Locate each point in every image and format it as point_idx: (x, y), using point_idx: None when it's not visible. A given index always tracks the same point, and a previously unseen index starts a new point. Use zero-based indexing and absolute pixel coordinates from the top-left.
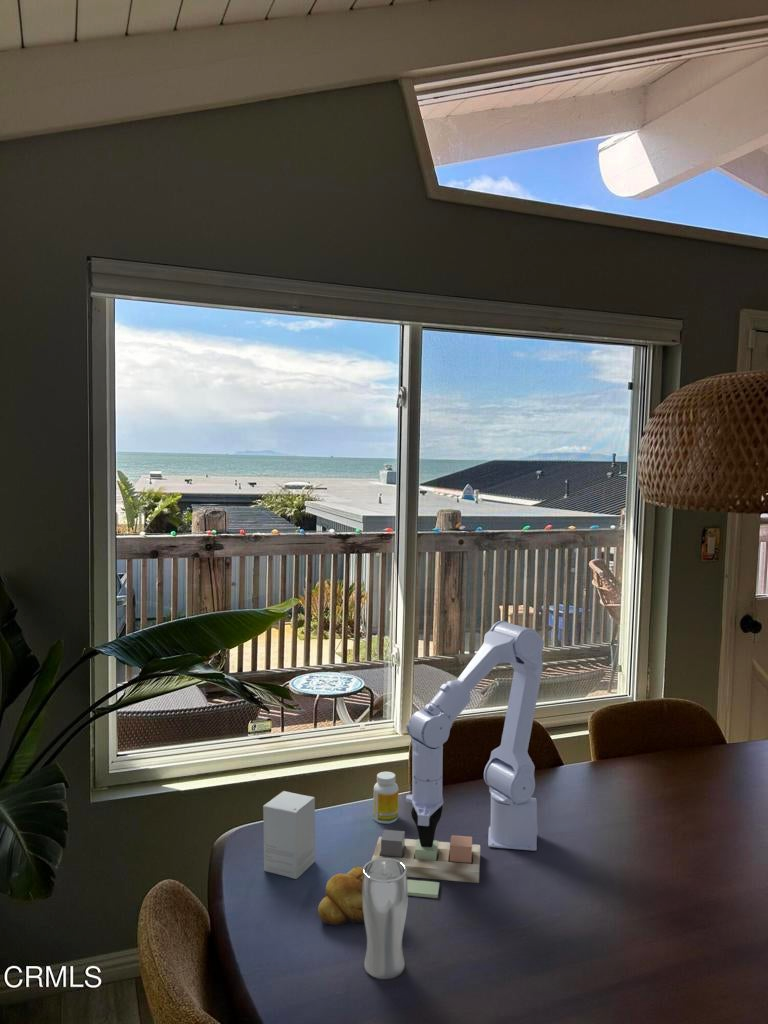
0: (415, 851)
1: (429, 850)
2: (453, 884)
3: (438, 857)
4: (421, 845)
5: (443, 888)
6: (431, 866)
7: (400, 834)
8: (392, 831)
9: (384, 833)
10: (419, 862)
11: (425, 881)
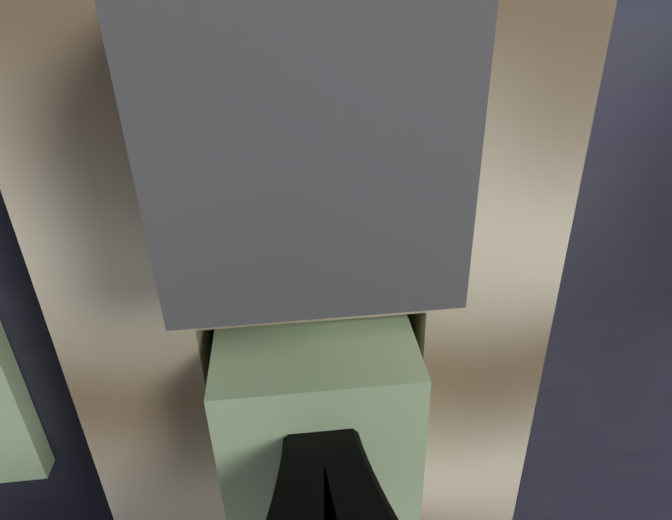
0: (206, 389)
1: (229, 501)
2: (109, 514)
3: None
4: (283, 446)
5: (36, 480)
6: (124, 467)
7: (364, 274)
8: (446, 141)
9: (356, 11)
10: (147, 386)
11: (11, 406)
